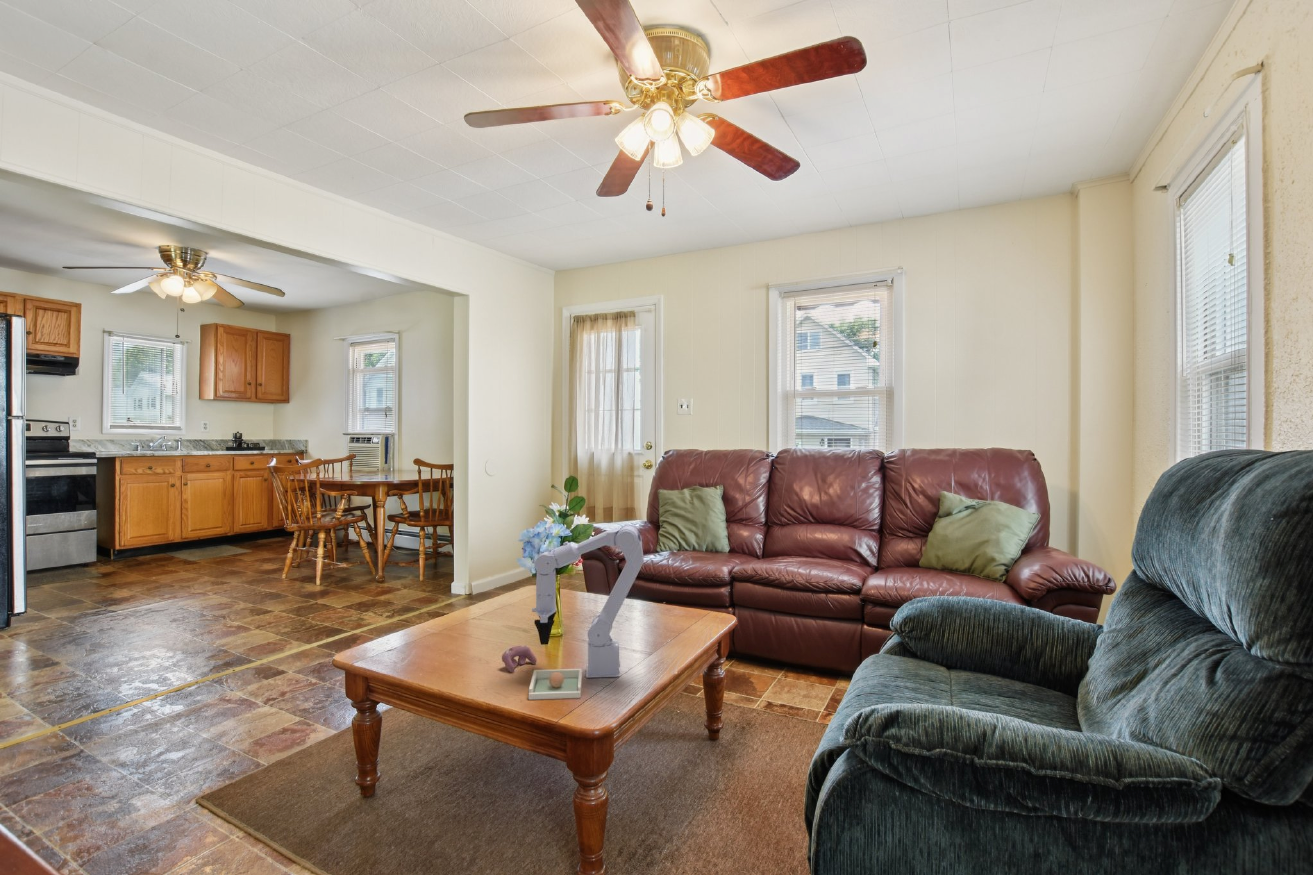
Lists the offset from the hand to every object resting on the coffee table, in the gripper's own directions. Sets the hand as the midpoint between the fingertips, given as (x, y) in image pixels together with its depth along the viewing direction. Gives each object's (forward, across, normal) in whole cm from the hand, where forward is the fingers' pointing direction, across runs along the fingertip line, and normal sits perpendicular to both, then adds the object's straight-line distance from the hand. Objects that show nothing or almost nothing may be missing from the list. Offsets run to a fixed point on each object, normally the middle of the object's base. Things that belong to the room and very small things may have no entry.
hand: (545, 639), depth 179 cm
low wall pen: (+9, +12, +4) cm, 16 cm away
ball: (+9, +12, +4) cm, 16 cm away
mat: (+9, +12, +4) cm, 16 cm away
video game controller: (+10, -5, -8) cm, 14 cm away
